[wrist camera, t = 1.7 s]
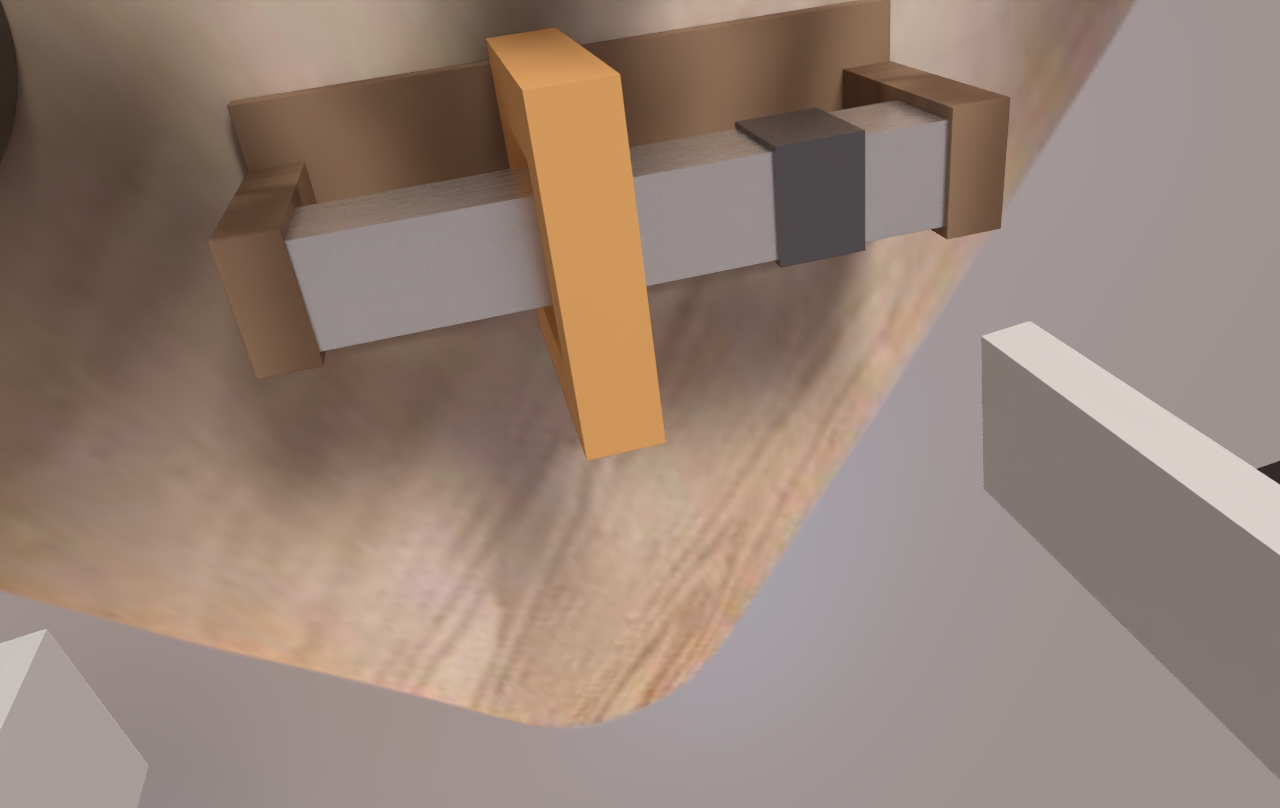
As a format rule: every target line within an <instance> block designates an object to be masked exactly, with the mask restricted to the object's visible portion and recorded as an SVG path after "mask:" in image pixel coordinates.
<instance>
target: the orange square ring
mask: <svg viewBox="0 0 1280 808" xmlns="http://www.w3.org/2000/svg"><path fill="white" fill-rule="evenodd" d="M486 44H487V49H488V54H489V60H490V65H491V70H492V75H493V81H494V86H495V91H496V97H497V102H498V107H499V113H500V118H501V123H502V129H503V134H504V139H505V144H506V150H507V155H508V160H509V166H510V169H514V168H519V167H525V166H528V167H529V173H530V178H531V184H532V189H533V195H534V201H535V206H536V212H537V217H538V223H539V229H540V234H541V240H542V245H543V251H544V257H545V262H546V268H547V273H548V279H549V285H550V290H551V296H552V301H553V305H550V306H545V307H541V308H536V309H537V314H538V320H539V324H540V327H541V330H542V333H543V336H544V339H545V342H546V344H547V347H548V350H549V353H550V356H551V359H552V362H553V365H554V367H555V370H556V373H557V376H558V379H559V382H560V385H561V388H562V390H563V393H564V396H565V399H566V402H567V405H568V408H569V411H570V413H571V416H572V419H573V422H574V425H575V428H576V431H577V433H578V436H579V439H580V442H581V445H582V448H583V451H584V454H585V456H586V459H587V461H588V460H592V459H597V458H601V457H605V456H610V455H614V454H619V453H623V452H627V451H632V450H636V449H641V448H645V447H650V446H654V445H658V444H663V443H666V441H665V433H664V425H663V417H662V409H661V401H660V393H659V385H658V376H657V368H656V360H655V352H654V344H653V336H652V328H651V320H650V312H649V304H648V296H647V288H646V279H645V271H644V263H643V255H642V247H641V239H640V231H639V223H638V215H637V207H636V199H635V191H634V182H633V174H632V166H631V158H630V150H629V142H628V134H627V126H626V118H625V110H624V102H623V94H622V85H621V77H620V74H619V73H618V72H617V71H615V70H614V69H612V68H611V67H610V66H608V65H607V64H606V63H604V62H603V61H601V60H600V59H599V58H597V57H596V56H594V55H593V54H592V53H590V52H589V51H588V50H586V49H585V48H583V47H582V46H581V45H579V44H578V43H577V42H575V41H574V40H572V39H571V38H570V37H568V36H567V35H566V34H564V33H563V32H561V31H560V30H559V29H557V28H556V27H554V28H548V29H541V30H535V31H529V32H522V33H516V34H510V35H503V36H497V37H491V38H486Z"/></svg>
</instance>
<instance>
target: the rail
mask: <svg viewBox="0 0 1280 808" xmlns="http://www.w3.org/2000/svg"><path fill="white" fill-rule="evenodd" d="M948 138H949V119H947V118H944V117H941V116H939V115H936V114H933V113H931V112H928V111H926V110H923V109H920V108H918V107H915V106H912V105H910V104H907V103H904V102H902V101H899V100H895V101H889V102H883V103H878V104H872V105H867V106H861V107H855V108H850V109H844V110H839V111H833V112H825V111H823V110H821V109H819V108H816V107H815V108H809V109H804V110H798V111H792V112H787V113H781V114H775V115H770V116H764V117H758V118H753V119H747V120H741V121H736V122H735V129H732V130H727V131H721V132H715V133H710V134H704V135H699V136H693V137H687V138H682V139H676V140H671V141H665V142H659V143H654V144H648V145H643V146H637V147H631V148H629V150H630V158H631V166H632V174H633V182H634V191H635V199H636V207H637V215H638V223H639V231H640V239H641V247H642V255H643V263H644V271H645V279H646V286H650V285H655V284H660V283H665V282H670V281H675V280H680V279H685V278H690V277H695V276H700V275H705V274H710V273H715V272H720V271H725V270H730V269H735V268H740V267H745V266H750V265H755V264H760V263H765V262H770V261H775V262H776V263H777V264H778V265H779V266H780V267H785V266H790V265H795V264H800V263H805V262H810V261H815V260H820V259H825V258H830V257H834V256H839V255H844V254H849V253H854V252H859V251H864V250H865V242H869V241H874V240H879V239H884V238H889V237H894V236H899V235H904V234H909V233H914V232H919V231H924V230H929V229H934V228H939V227H944V226H945V207H946V184H947V161H948ZM285 244H286V247H287V250H288V253H289V257H290V260H291V263H292V266H293V269H294V272H295V275H296V278H297V282H298V285H299V288H300V291H301V294H302V297H303V300H304V303H305V307H306V310H307V313H308V316H309V319H310V322H311V325H312V328H313V331H314V335H315V338H316V341H317V344H318V347H319V350H320V352H321V351H326V350H331V349H336V348H341V347H346V346H351V345H356V344H361V343H366V342H371V341H376V340H381V339H386V338H391V337H396V336H401V335H406V334H411V333H416V332H421V331H426V330H431V329H436V328H441V327H446V326H451V325H456V324H461V323H466V322H471V321H476V320H481V319H486V318H491V317H496V316H501V315H506V314H511V313H516V312H521V311H526V310H531V309H536V308H541V307H545V306H550V305H553V301H552V296H551V290H550V285H549V279H548V273H547V268H546V262H545V257H544V251H543V245H542V240H541V234H540V229H539V223H538V217H537V212H536V206H535V201H534V195H533V189H532V184H531V178H530V173H529V167H528V166H525V167H519V168H514V169H508V170H503V171H497V172H491V173H486V174H480V175H475V176H469V177H463V178H458V179H452V180H447V181H441V182H435V183H430V184H424V185H419V186H413V187H407V188H402V189H396V190H391V191H385V192H379V193H374V194H368V195H363V196H357V197H351V198H346V199H340V200H335V201H329V202H323V203H318V204H312V205H307V206H301V207H296V209H295V212H294V215H293V218H292V221H291V224H290V227H289V230H288V233H287V236H286V239H285Z"/></svg>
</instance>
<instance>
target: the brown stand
mask: <svg viewBox="0 0 1280 808" xmlns="http://www.w3.org/2000/svg"><path fill="white" fill-rule="evenodd" d="M581 46H582V47H583V48H585V49H586V50H588V51H589V52H590V53H592V54H593V55H594V56H596V57H597V58H599V59H600V60H601V61H603V62H604V63H606V64H607V65H608V66H610V67H611V68H612V69H614V70H615V71H617V72H618V73H619V74H620V77H621V85H622V94H623V102H624V110H625V118H626V126H627V134H628V142H629V148H631V147H637V146H643V145H648V144H654V143H659V142H665V141H671V140H676V139H682V138H687V137H693V136H699V135H704V134H710V133H715V132H721V131H727V130H732V129H735V122H736V121H741V120H747V119H753V118H758V117H764V116H770V115H775V114H781V113H787V112H792V111H798V110H804V109H809V108H815V107H816V108H819V109H821V110H823V111H825V112H833V111H839V110H844V109H850V108H855V107H861V106H867V105H872V104H878V103H883V102H889V101H895V100H899V101H902V102H904V103H907V104H910V105H912V106H915V107H918V108H920V109H923V110H926V111H928V112H931V113H933V114H936V115H939V116H941V117H944V118H947V119H949V138H948V161H947V184H946V207H945V226H944V227H939V228H934V229H931V230H932V231H934V232H936V233H937V234H939V235H941V236H942V237H944V238H946V239H951V238H956V237H961V236H966V235H971V234H976V233H980V232H985V231H990V230H995V229H1000V228H1001V215H1002V202H1003V189H1004V175H1005V162H1006V148H1007V135H1008V121H1009V108H1010V97H1007V96H1003V95H1000V94H997V93H994V92H990V91H987V90H984V89H980V88H977V87H974V86H970V85H967V84H964V83H961V82H957V81H954V80H951V79H947V78H944V77H941V76H937V75H934V74H931V73H928V72H924V71H921V70H918V69H914V68H911V67H908V66H904V65H901V64H898V63H895V62H891V61H890V0H858V1H851V2H845V3H839V4H833V5H827V6H820V7H814V8H808V9H802V10H796V11H789V12H783V13H777V14H771V15H765V16H758V17H752V18H746V19H740V20H734V21H727V22H721V23H715V24H709V25H702V26H696V27H690V28H684V29H678V30H671V31H665V32H659V33H653V34H647V35H640V36H634V37H628V38H622V39H616V40H609V41H603V42H597V43H591V44H585V45H581ZM227 107H228V110H229V113H230V117H231V120H232V123H233V126H234V129H235V132H236V135H237V138H238V141H239V144H240V147H241V150H242V153H243V156H244V159H245V162H246V165H247V168H248V173H247V175H246V176H245V178H244V180H243V182H242V183H241V185H240V187H239V189H238V190H237V192H236V194H235V196H234V198H233V199H232V201H231V203H230V205H229V206H228V208H227V210H226V212H225V213H224V215H223V217H222V219H221V220H220V222H219V224H218V226H217V228H216V229H215V231H214V233H213V235H212V236H211V238H210V240H209V242H208V246H209V249H210V251H211V254H212V257H213V260H214V262H215V265H216V268H217V271H218V273H219V276H220V279H221V282H222V284H223V287H224V290H225V293H226V295H227V298H228V301H229V304H230V306H231V309H232V312H233V315H234V317H235V320H236V323H237V326H238V328H239V331H240V334H241V337H242V339H243V342H244V345H245V348H246V350H247V353H248V356H249V359H250V361H251V364H252V367H253V370H254V372H255V375H256V378H257V379H261V378H266V377H271V376H276V375H281V374H286V373H291V372H296V371H301V370H306V369H311V368H315V367H320V366H323V364H324V358H325V352H326V351H321V352H320V350H319V347H318V344H317V341H316V338H315V335H314V331H313V328H312V325H311V322H310V319H309V316H308V313H307V310H306V307H305V303H304V300H303V297H302V294H301V291H300V288H299V285H298V282H297V278H296V275H295V272H294V269H293V266H292V263H291V260H290V257H289V253H288V250H287V247H286V244H285V239H286V236H287V233H288V230H289V227H290V224H291V221H292V218H293V215H294V212H295V209H296V207H301V206H307V205H312V204H318V203H323V202H329V201H335V200H340V199H346V198H351V197H357V196H363V195H368V194H374V193H379V192H385V191H391V190H396V189H402V188H407V187H413V186H419V185H424V184H430V183H435V182H441V181H447V180H452V179H458V178H463V177H469V176H475V175H480V174H486V173H491V172H497V171H503V170H508V169H510V166H509V160H508V155H507V150H506V144H505V139H504V134H503V129H502V123H501V118H500V113H499V107H498V102H497V97H496V91H495V86H494V81H493V75H492V70H491V65H490V60H485V61H479V62H473V63H467V64H460V65H454V66H448V67H442V68H436V69H429V70H423V71H417V72H411V73H405V74H398V75H392V76H386V77H380V78H374V79H367V80H361V81H355V82H349V83H343V84H336V85H330V86H324V87H318V88H312V89H305V90H299V91H293V92H287V93H281V94H274V95H268V96H262V97H256V98H250V99H243V100H237V101H231V103H230V104H229V105H228V106H227Z"/></svg>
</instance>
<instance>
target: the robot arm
mask: <svg viewBox="0 0 1280 808" xmlns="http://www.w3.org/2000/svg"><path fill="white" fill-rule="evenodd" d="M16 99H17V76H16V63H15V56H14V50H13V44H12V40H11V35H10V31H9V27H8V24H7V20H6V17H5V14H4V11H3V8H2V5H1V3H0V161H1V159H2V157H3V154H4V152H5V150H6V147H7V144H8V141H9V138H10V134H11V131H12V126H13V121H14V116H15V108H16ZM981 342H982V404H983V466H984V489H985V490H986V491H987V492H988V493H989V494H990V495H991V496H992V497H993V498H994V499H995V500H996V501H997V502H998V503H999V504H1000V505H1001V506H1002V507H1003V508H1004V509H1005V510H1006V511H1007V512H1008V513H1009V514H1010V515H1011V516H1012V517H1013V518H1014V519H1016V521H1017V522H1019V524H1021V525H1022V526H1023V527H1024V528H1025V529H1026V530H1027V531H1028V532H1029V533H1030V534H1031V535H1032V536H1033V537H1034V538H1035V539H1036V540H1037V541H1038V542H1039V543H1040V544H1041V545H1042V546H1043V547H1044V548H1045V549H1046V550H1047V551H1048V552H1049V553H1050V554H1051V555H1052V556H1053V557H1054V558H1055V559H1056V560H1057V561H1058V562H1059V563H1060V564H1061V565H1062V566H1063V567H1064V568H1065V569H1066V570H1067V571H1068V572H1069V573H1070V574H1071V575H1072V576H1073V577H1075V579H1076V580H1078V582H1079V583H1081V584H1082V586H1083V587H1085V589H1087V590H1088V591H1089V592H1090V593H1091V594H1092V595H1093V596H1094V597H1095V598H1096V599H1097V600H1098V601H1099V602H1100V603H1101V604H1102V605H1103V606H1104V607H1105V608H1106V609H1107V610H1108V611H1109V612H1110V613H1111V614H1112V615H1113V616H1114V617H1115V618H1116V619H1117V620H1118V621H1119V622H1120V623H1121V624H1122V625H1123V626H1124V627H1125V628H1126V629H1127V630H1128V631H1129V632H1130V633H1131V634H1132V635H1133V636H1134V637H1135V638H1136V639H1137V640H1138V641H1139V642H1140V643H1141V644H1142V645H1143V646H1144V647H1146V648H1147V650H1149V651H1150V652H1151V653H1152V654H1153V655H1154V656H1155V657H1156V658H1157V659H1158V660H1159V661H1160V662H1161V663H1162V664H1163V665H1164V666H1165V667H1166V668H1167V669H1168V670H1169V671H1170V672H1171V673H1172V674H1173V675H1174V676H1175V677H1176V678H1177V679H1178V680H1179V681H1180V682H1181V683H1182V684H1183V685H1184V686H1185V687H1186V688H1187V689H1188V690H1189V691H1190V692H1191V693H1192V694H1193V695H1194V696H1195V697H1196V698H1197V699H1198V700H1199V701H1200V702H1201V703H1202V704H1203V705H1204V706H1205V707H1206V708H1208V709H1209V711H1211V712H1212V713H1213V714H1214V715H1215V716H1216V717H1217V718H1218V719H1219V720H1220V721H1221V722H1222V723H1223V724H1224V725H1225V726H1226V727H1227V728H1228V729H1229V730H1230V731H1231V732H1232V733H1233V734H1234V735H1235V736H1236V737H1237V738H1238V739H1239V740H1240V741H1241V742H1242V743H1243V744H1244V745H1245V746H1246V747H1247V748H1248V749H1249V750H1250V751H1251V752H1252V753H1253V754H1254V755H1255V756H1257V758H1258V759H1259V760H1260V761H1261V762H1262V763H1263V764H1264V765H1265V766H1266V767H1267V768H1268V769H1269V770H1270V771H1271V772H1273V773H1274V774H1275V775H1276V776H1277V777H1278V778H1279V779H1280V461H1278V462H1275V463H1272V464H1269V465H1267V466H1264V467H1261V468H1258V469H1255V468H1254V467H1252V466H1250V465H1249V464H1248V463H1246V462H1244V461H1243V460H1241V459H1240V458H1238V457H1237V456H1235V455H1234V454H1232V453H1231V452H1229V451H1228V450H1226V449H1225V448H1223V447H1222V446H1220V445H1219V444H1217V443H1215V442H1214V441H1212V440H1211V439H1209V438H1208V437H1206V436H1205V435H1203V434H1202V433H1200V432H1199V431H1197V430H1196V429H1194V428H1193V427H1191V426H1189V425H1188V424H1186V423H1185V422H1183V421H1182V420H1180V419H1179V418H1177V417H1176V416H1174V415H1173V414H1171V413H1170V412H1168V411H1167V410H1165V409H1164V408H1162V407H1161V406H1159V405H1157V404H1156V403H1154V402H1153V401H1151V400H1150V399H1148V398H1147V397H1145V396H1144V395H1142V394H1141V393H1139V392H1138V391H1136V390H1134V389H1133V388H1131V387H1130V386H1128V385H1127V384H1125V383H1124V382H1122V381H1121V380H1119V379H1118V378H1116V377H1115V376H1113V375H1112V374H1110V373H1109V372H1107V371H1106V370H1104V369H1103V368H1101V367H1099V366H1098V365H1096V364H1095V363H1093V362H1092V361H1090V360H1089V359H1087V358H1086V357H1084V356H1083V355H1081V354H1080V353H1078V352H1077V351H1075V350H1074V349H1072V348H1070V347H1069V346H1067V345H1066V344H1064V343H1063V342H1061V341H1060V340H1058V339H1057V338H1055V337H1054V336H1052V335H1051V334H1049V333H1048V332H1046V331H1045V330H1043V329H1041V328H1040V327H1038V326H1037V325H1035V324H1034V323H1032V322H1031V321H1029V322H1025V323H1022V324H1019V325H1016V326H1012V327H1009V328H1006V329H1003V330H1000V331H997V332H993V333H990V334H987V335H984V336H982V337H981ZM147 769H148V765H147V763H146V762H145V760H144V759H143V758H142V756H141V755H140V753H139V752H138V751H137V749H136V748H135V747H134V745H133V744H132V743H131V741H130V740H129V739H128V737H127V736H126V735H125V734H124V732H123V731H122V729H121V728H120V727H119V725H118V724H117V722H116V721H115V720H114V718H113V717H112V716H111V714H110V713H109V712H108V710H107V709H106V708H105V706H104V705H103V704H102V702H101V701H100V699H99V698H98V697H97V695H96V694H95V693H94V691H93V690H92V689H91V687H90V686H89V685H88V683H87V682H86V681H85V679H84V678H83V677H82V675H81V674H80V672H79V671H78V670H77V668H76V667H75V666H74V664H73V663H72V662H71V660H70V659H69V658H68V656H67V655H66V654H65V652H64V651H63V650H62V648H61V647H60V645H59V644H58V643H57V641H56V640H55V639H54V637H53V636H52V635H51V633H50V632H49V631H48V629H44V630H41V631H37V632H35V633H31V634H28V635H25V636H22V637H18V638H15V639H12V640H9V641H6V642H2V643H0V808H137V806H138V802H139V799H140V795H141V791H142V788H143V784H144V780H145V776H146V772H147Z"/></svg>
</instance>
